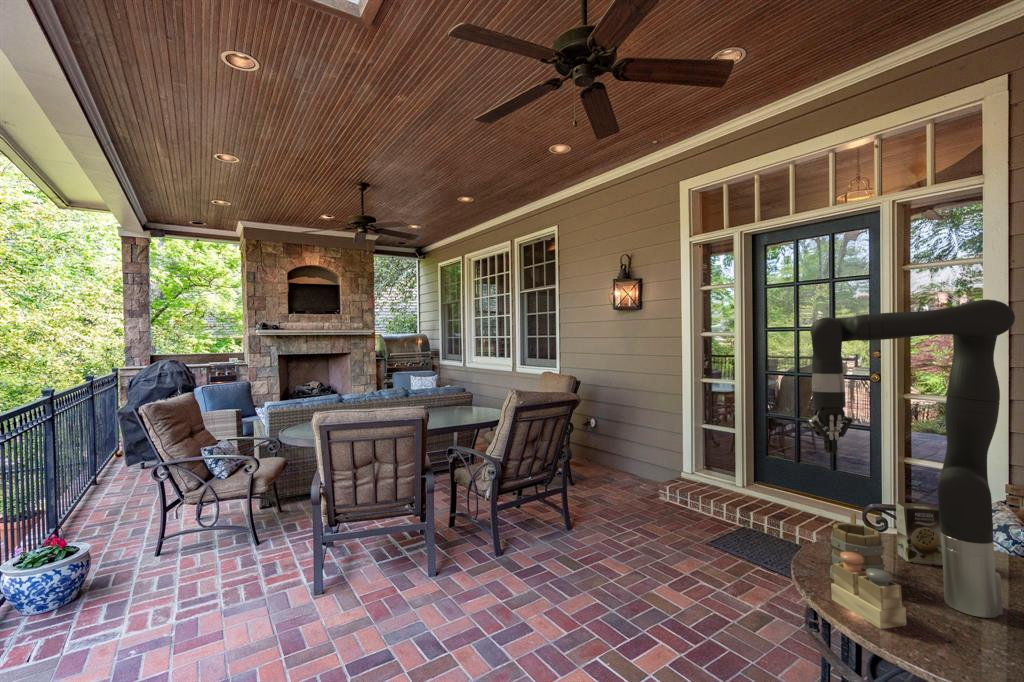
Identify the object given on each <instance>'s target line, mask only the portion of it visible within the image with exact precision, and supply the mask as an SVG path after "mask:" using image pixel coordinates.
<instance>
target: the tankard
mask: <svg viewBox="0 0 1024 682" xmlns="http://www.w3.org/2000/svg"><path fill="white" fill-rule="evenodd" d="M849 517H850V518H849V519H850V522H839V523H834V524H833V527H832V531H831V536H830V544H831V546H833V548H832V552H831V555H830V556H831V563H832V564H830V570H829V578H830V579H831V580H833V581H834V572H833V564H836V563H843V560H841V554H840V553H841V552H853V553H857V554H859V555H861V556H863V564H861V566H862V567H864V568H866V569H869V568H874V569H880V570H883V571H885V567H886V564H885V562H884V558H883V557H881V556H883V555H884V549H885V547H884V545H883V540H881V538H880V531H879V530H877V529H874V528H872V527H869V526H867V525H863V524H857V514H856V513H853V512H851V513H850V514H849Z"/></svg>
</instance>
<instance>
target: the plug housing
mask: <svg viewBox="0 0 1024 682" xmlns="http://www.w3.org/2000/svg"><path fill="white" fill-rule="evenodd" d="M832 565H833V572H834V580H833V583H830V584H831V585H830V589H831V590H830V591H831V600H832V601H834V602H835V603H837V604H838V605H840V606H842V607H844V608H845V609H846V610H848V611H850V612H851V613H853V614H855V615H857V617H860V618H861V619H863V620H865V621H866V622H869V624H872V625H873V626H875V627H877V628H878V629H880V630H884V629H890V628H891V629H892V628H896V627H905V626H907V612H906V611H907V609H906V607H905V606H903V601H902V600H903V599H902V585H900V584H899V583H898V582H897V583H896V582H894V581H893V580H891V582H889V586H881V587H880V586H878V585H876V584H874V583H872V582H870V581H869V578H868V577H867V576H866V570H867V569H866V568H864V567H862V566H861V572H854V573H852V572H850V571H848V570H847V569H845V568H844V566H843V563H836V564H834V563H832Z"/></svg>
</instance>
